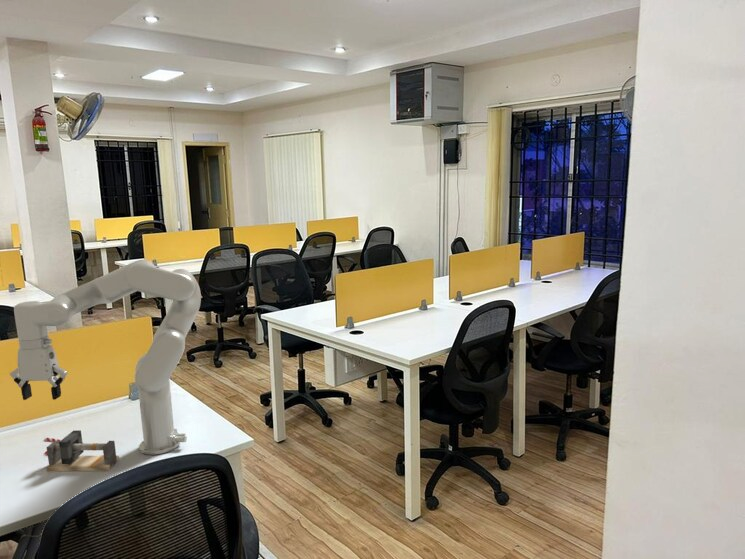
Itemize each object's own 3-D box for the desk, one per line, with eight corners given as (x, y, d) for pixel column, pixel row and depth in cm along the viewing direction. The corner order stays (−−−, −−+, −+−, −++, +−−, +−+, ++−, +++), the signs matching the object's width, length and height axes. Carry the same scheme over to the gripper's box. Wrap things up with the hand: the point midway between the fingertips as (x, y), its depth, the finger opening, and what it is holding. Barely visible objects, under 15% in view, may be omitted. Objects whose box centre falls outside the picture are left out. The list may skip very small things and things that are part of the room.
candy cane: (55, 433, 188) (75, 446, 179) (56, 437, 188) (75, 449, 179) (31, 442, 182) (50, 455, 173) (31, 446, 182) (50, 459, 173)
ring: (83, 451, 172) (80, 430, 170) (69, 464, 164) (66, 442, 163) (76, 451, 172) (73, 430, 170) (61, 464, 164) (58, 442, 163)
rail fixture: (119, 459, 171) (116, 438, 170) (107, 470, 164) (105, 449, 163) (60, 459, 172) (57, 438, 171) (46, 471, 165) (43, 449, 164)
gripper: (70, 338, 165) (77, 393, 168) (14, 339, 165) (22, 393, 169) (54, 346, 157) (62, 402, 161) (-4, 347, 158) (5, 403, 161)
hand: (42, 397), depth 165 cm, fingers open, 8 cm apart
